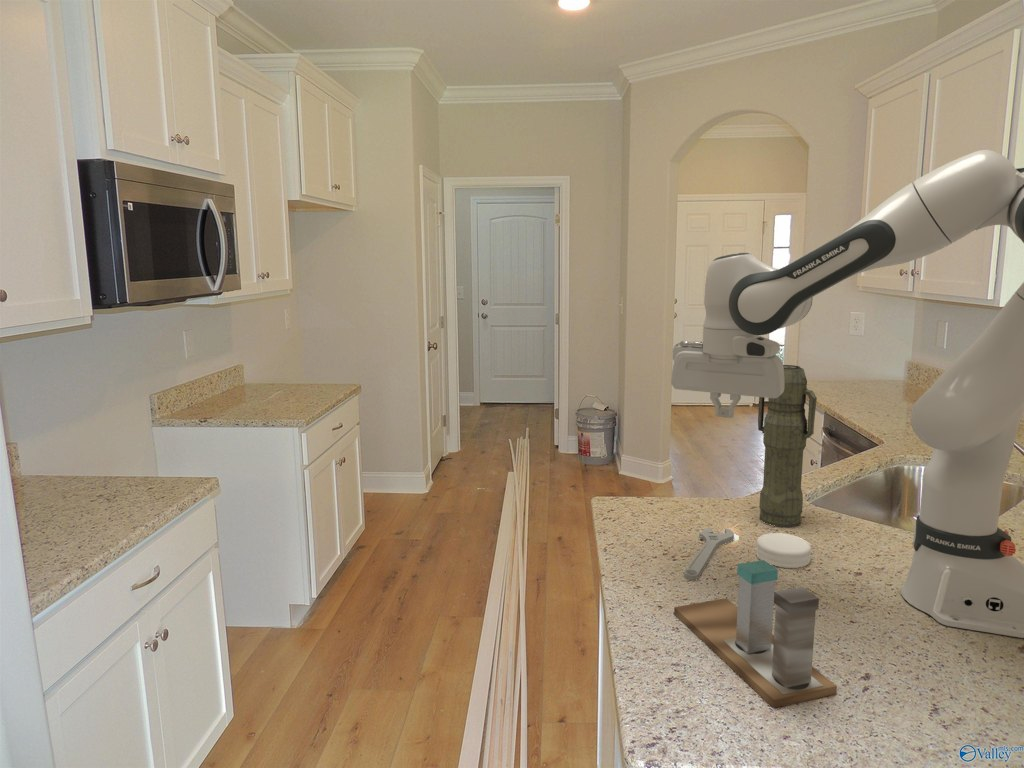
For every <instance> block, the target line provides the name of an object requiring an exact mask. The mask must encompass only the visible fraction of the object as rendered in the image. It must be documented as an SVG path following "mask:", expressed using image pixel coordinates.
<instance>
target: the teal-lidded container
mask: <svg viewBox="0 0 1024 768" xmlns="http://www.w3.org/2000/svg"><path fill="white" fill-rule="evenodd" d="M778 572H779V569H778V568H777V567H776V566H773V565H770V564H769V563H767V562H766V561H764V560H760V559H759V560H754V561H749V562H743V563H742V562H741V563H737V569H736V574H737V575H738V590H737V607H738V609H737V630H736V644H738V645H739V646H740V647H741V648H742V649H743V650H744V651H746V652H747V653H754V652H759V651H764V650H769V649H771V646H772V635H773V630H774V628H773V626H774V625H773V624H774V609H775V603H774V592H776V591H775V590H776V581H778V578H779V577H778V576H779V573H778Z"/></svg>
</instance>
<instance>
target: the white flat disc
mask: <svg viewBox="0 0 1024 768" xmlns="http://www.w3.org/2000/svg"><path fill="white" fill-rule="evenodd" d="M755 548H756V551H755V554H756V557H757V558H758V559H759V561H760V560H764V561H766V562H767V563H769V564H771V565H772V566H773V565H775V566H774V567H776V566H779V567H778V568H782V567H785V568H784V569H799V568H798V567H800V568H803V566H804V567H806V566H808V565H809V564H810V562H811V555H812V554H811V553H812V551H811V550H812V547H811V544H810V543H809V542H808V541H807V540H806V539H804V538H801V537H800V536H797V535H793V534H789V533H785V532H784V533H780V532H770V533H764V534H762V535H760V536H758V538H757V539H756V547H755Z"/></svg>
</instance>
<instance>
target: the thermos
mask: <svg viewBox="0 0 1024 768" xmlns="http://www.w3.org/2000/svg"><path fill="white" fill-rule="evenodd" d="M783 368H784V392H783V393H782V394H781V395H780V396H779V397H777V398H767V399H768V406H767V412H766V415H765V417H764V414H765V397H758V411H757V413H758V415H757V416H758V417H757V429H758V431H760V432H761V434H763V436H762V438H763V439H762V443H763V445H764V460H763V461H764V465H763V478H762V479H763V481H762V488H761V491H760V494H759V506H758V507H759V509H760V511H759V512H760V513H759V520H760V519H761V520H762V521H763V522H765V523H768V524H771V525H775V526H778V527H777V528H783V527H791V528H795V527H794V526H796V527H798V526H800V525H801V523H802V522H801V521H802V520H801V515H802V513H803V507H804V506H803V505H804V497H803V490H802V479H803V477H802V475H803V463H804V461H803V460H804V459H803V458H804V450H805V448H806V447H807V439H808V438H810V437H812V436H813V435H814V433H815V432H814V431H815V430H814V429H815V427H814V426H815V417H816V409H817V408H816V407H817V395H816V394H815V392H814V391H813V390H811V389H808V387H807V386H808V381H807V377H806V371H805V369H804V368H802V367H801V366H799V365H794V364H793V365H792V364H783ZM807 397H808V399H809V401H808V414H807V415H808V416H807V417H808V418H807V417H806V409H805V404H806V402H807ZM761 520H760V521H761ZM762 521H761V522H762ZM763 522H762V523H763ZM765 523H764V524H765ZM768 524H767V525H768ZM799 524H800V525H799ZM771 525H770V526H771ZM797 525H798V526H797ZM775 526H774V527H775Z"/></svg>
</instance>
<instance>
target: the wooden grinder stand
mask: <svg viewBox="0 0 1024 768" xmlns="http://www.w3.org/2000/svg"><path fill="white" fill-rule="evenodd" d="M819 601H820V598H819V597H818V596H816V595H815V594H813V593H812V592H810V591H808V589H806V588H804V587H803V586H800V587H794V588H793V587H792V588H788V589H781V590H777V591H775V592H774V605H775V614H774V628H773V630H774V632H773V634H772V646H771V649H769V650H764V651H759V652H754V653H747V652H746V651H744V650H743V649H742V648H741V647H740V646H739V645H738V644H736V630H737V609H738V605H737V604H736V605H735V603H733V602H732V601H730V600H729V598H727V597H725V598H721V599H720V598H719V599H715V600H708V601H702V602H697V603H690V604H684V605H678V606H674V607H673V614H674V616H676V617H677V618H678V619H679V620H680V621H681V622H682V623H683V624H684V625H685V626H686V627H687V628H688V629H690V631H692V633H694V634H695V635H696V636H697V637H698V638H699V640H701V641H702V640H703V641H704V642H705V643H706V644H707V645H708V646H709V647H708V646H707V645H706V644H705V643H704V642H703V641H702V642H703V643H704V644H705V645H706V646H707V647H708V648H709V649H711V650H712V651H713V652H714V653H715V652H716V653H717V654H716V653H715V654H716V656H718V657H719V658H720V659H721V660H722V662H724V663H725V664H726V663H727V664H728V665H727V664H726V665H727V666H728V667H729V668H731V669H732V671H734V672H735V673H736V674H737V675H738V676H739V677H740V678H741V679H742V680H743V681H744V682H745V683H746V684H747V685H748V686H749V687H751V688H752V689H753V690H754V691H755V692H756V693H757V694H758V695H759V696H760V697H761V698H762V699H763V700H764V701H765V702H766V703H767V704H768V705H770V706H771V707H772V708H773V709H775V708H781V707H784V706H791V705H793V704H798V703H799V704H800V703H803V702H806V701H807V702H808V701H810V700H816V699H821V698H824V697H828V696H829V697H830V696H834V695H837V689H838V686H837V685H836V684H835V683H834V682H832V681H831V680H830V679H829V678H827V677H826V675H824V674H822V673H821V671H819V670H818V669H817V668H815V667H814V666H813V658H814V657H813V655H814V644H815V643H814V641H815V640H814V639H815V626H816V614H817V612H816V611H817V610H819Z"/></svg>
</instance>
